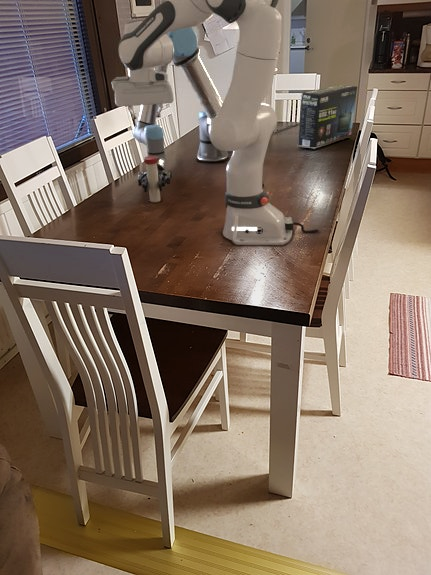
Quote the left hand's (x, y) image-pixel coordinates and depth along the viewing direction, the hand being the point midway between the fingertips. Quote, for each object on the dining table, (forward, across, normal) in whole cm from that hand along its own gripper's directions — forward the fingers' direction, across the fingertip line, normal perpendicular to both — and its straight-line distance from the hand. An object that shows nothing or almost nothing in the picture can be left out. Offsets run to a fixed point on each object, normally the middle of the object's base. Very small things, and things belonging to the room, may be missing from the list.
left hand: (152, 188), depth 171 cm
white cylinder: (-5, 0, -7) cm, 9 cm away
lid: (-5, 0, +10) cm, 11 cm away
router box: (-79, -87, -7) cm, 117 cm away
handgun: (-23, -39, -7) cm, 46 cm away
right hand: (-5, 0, +24) cm, 25 cm away
